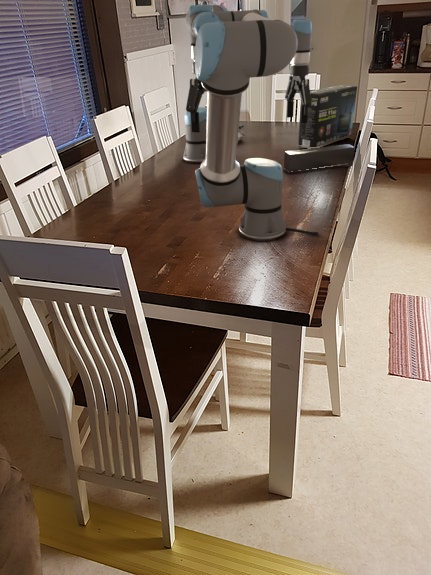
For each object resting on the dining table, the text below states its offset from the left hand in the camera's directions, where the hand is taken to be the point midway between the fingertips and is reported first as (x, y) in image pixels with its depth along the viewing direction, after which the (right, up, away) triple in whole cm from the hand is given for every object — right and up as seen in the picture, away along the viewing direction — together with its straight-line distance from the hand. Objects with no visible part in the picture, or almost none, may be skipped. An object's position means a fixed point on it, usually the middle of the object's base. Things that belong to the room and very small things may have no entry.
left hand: (296, 120), depth 193 cm
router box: (+24, +7, +52) cm, 58 cm away
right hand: (-38, -15, -33) cm, 52 cm away
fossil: (-27, +11, +62) cm, 69 cm away
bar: (+12, -17, +14) cm, 25 cm away
